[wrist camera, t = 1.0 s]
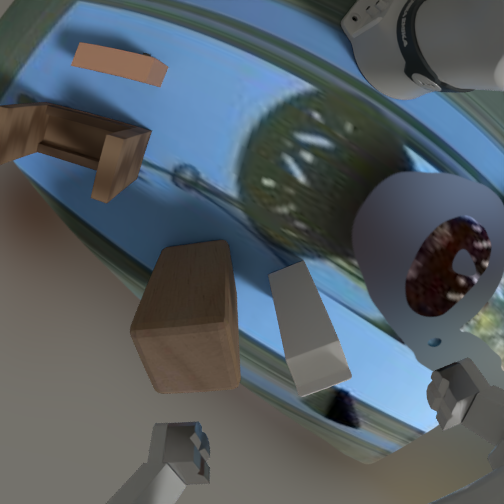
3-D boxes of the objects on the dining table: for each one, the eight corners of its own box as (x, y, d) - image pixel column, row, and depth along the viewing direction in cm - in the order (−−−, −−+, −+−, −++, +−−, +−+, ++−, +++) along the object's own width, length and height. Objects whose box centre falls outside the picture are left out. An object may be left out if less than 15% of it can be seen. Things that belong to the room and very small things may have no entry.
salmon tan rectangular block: (105, 48, 34) (81, 38, 27) (169, 63, 36) (156, 54, 29) (96, 71, 35) (71, 65, 28) (160, 87, 37) (145, 82, 30)
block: (228, 236, 47) (227, 320, 29) (237, 294, 51) (242, 391, 33) (161, 245, 47) (124, 330, 28) (176, 301, 51) (154, 397, 33)
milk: (267, 273, 50) (288, 380, 30) (304, 259, 49) (347, 359, 29) (280, 304, 52) (305, 411, 32) (315, 290, 52) (357, 393, 31)
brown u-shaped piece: (45, 102, 36) (-4, 106, 25) (152, 131, 40) (124, 139, 29) (35, 146, 38) (-13, 162, 27) (136, 178, 42) (106, 203, 31)
